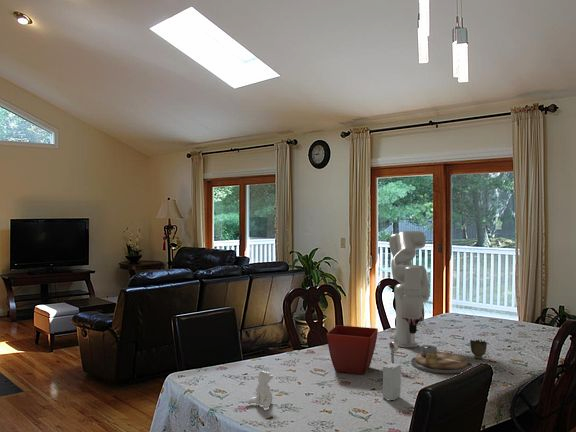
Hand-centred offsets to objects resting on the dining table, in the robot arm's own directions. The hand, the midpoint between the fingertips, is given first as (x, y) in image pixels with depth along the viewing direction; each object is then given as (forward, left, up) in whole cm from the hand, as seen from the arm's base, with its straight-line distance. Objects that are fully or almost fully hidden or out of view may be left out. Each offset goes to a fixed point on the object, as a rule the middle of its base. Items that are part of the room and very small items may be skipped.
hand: (412, 333), depth 241 cm
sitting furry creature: (-12, -86, -13) cm, 88 cm away
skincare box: (+19, -50, -13) cm, 55 cm away
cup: (+22, +23, -13) cm, 34 cm away
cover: (+8, +1, -9) cm, 12 cm away
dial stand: (0, -17, -12) cm, 21 cm away
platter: (+14, 0, -11) cm, 17 cm away
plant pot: (-12, -30, -13) cm, 35 cm away
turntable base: (+14, +1, -12) cm, 18 cm away
